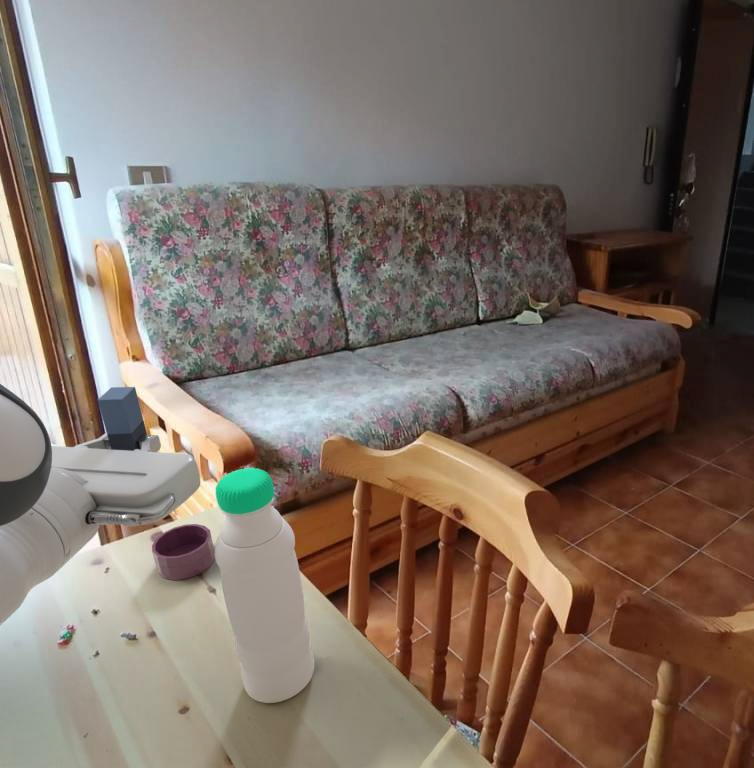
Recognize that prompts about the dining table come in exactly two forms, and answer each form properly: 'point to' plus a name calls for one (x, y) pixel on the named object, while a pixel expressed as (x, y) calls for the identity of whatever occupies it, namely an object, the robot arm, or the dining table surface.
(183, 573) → the bowl
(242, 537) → the water bottle
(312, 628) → the dining table surface
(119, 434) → the eraser
